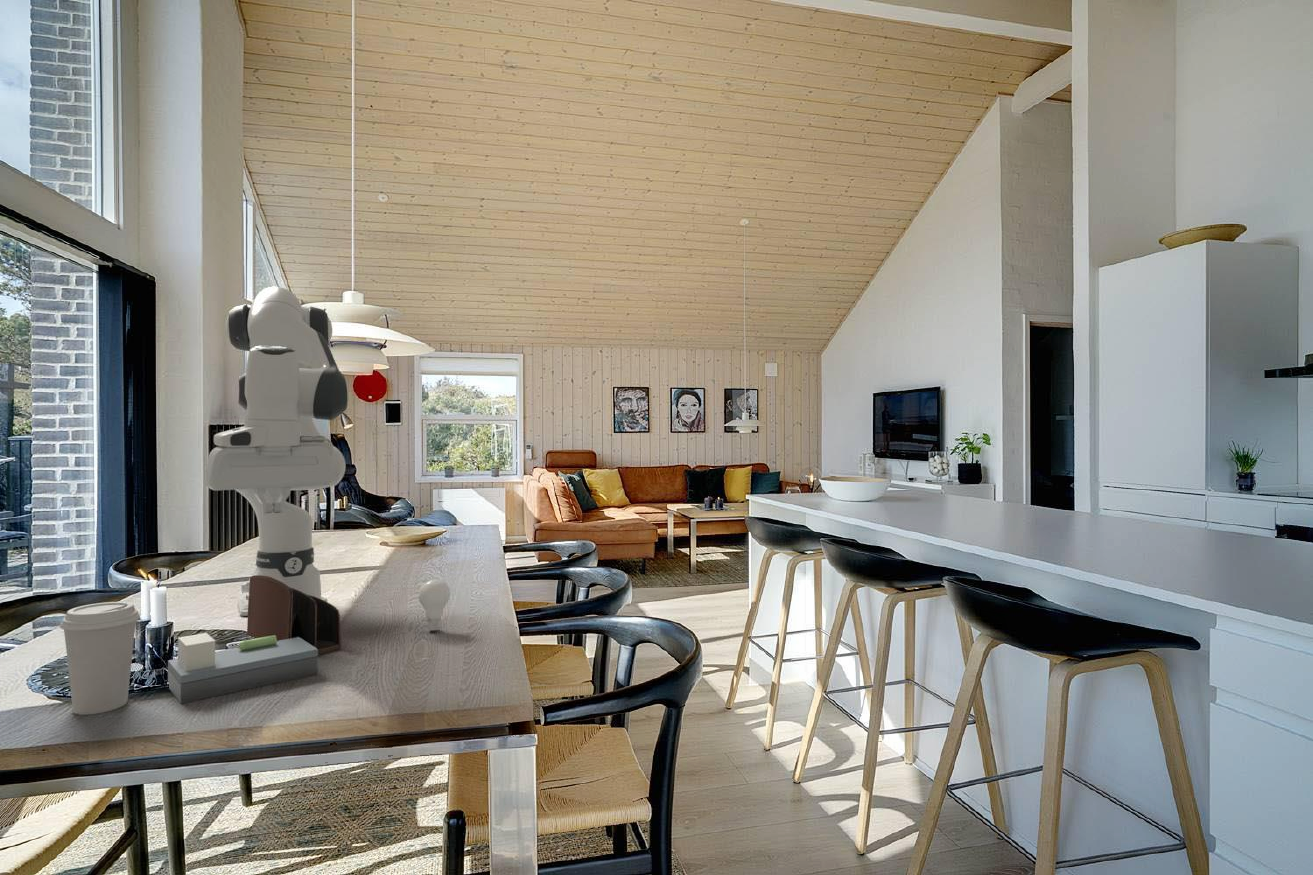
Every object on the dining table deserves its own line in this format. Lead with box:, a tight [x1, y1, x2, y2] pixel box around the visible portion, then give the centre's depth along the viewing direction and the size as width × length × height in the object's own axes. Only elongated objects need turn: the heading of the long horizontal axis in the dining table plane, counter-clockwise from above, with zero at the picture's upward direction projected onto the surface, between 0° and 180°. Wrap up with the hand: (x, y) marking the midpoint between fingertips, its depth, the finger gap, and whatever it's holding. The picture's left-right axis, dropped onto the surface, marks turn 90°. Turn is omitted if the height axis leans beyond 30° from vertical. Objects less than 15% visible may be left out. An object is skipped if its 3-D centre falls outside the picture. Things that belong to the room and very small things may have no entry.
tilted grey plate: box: [167, 632, 319, 684], centre depth 119 cm, size 10×20×5 cm, turn 134°
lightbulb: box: [418, 578, 451, 633], centre depth 149 cm, size 6×6×11 cm
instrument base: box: [167, 655, 319, 705], centre depth 119 cm, size 10×20×3 cm, turn 134°
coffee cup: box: [59, 601, 141, 716], centre depth 107 cm, size 10×10×15 cm
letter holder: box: [246, 575, 342, 656], centre depth 139 cm, size 10×20×14 cm, turn 49°
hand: (272, 512), depth 127 cm, fingers closed
